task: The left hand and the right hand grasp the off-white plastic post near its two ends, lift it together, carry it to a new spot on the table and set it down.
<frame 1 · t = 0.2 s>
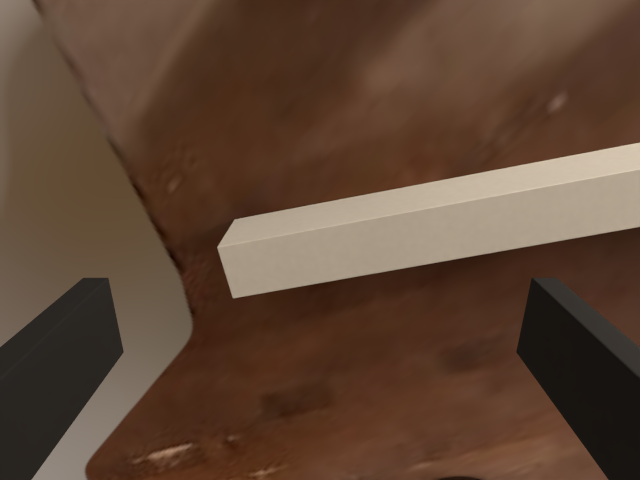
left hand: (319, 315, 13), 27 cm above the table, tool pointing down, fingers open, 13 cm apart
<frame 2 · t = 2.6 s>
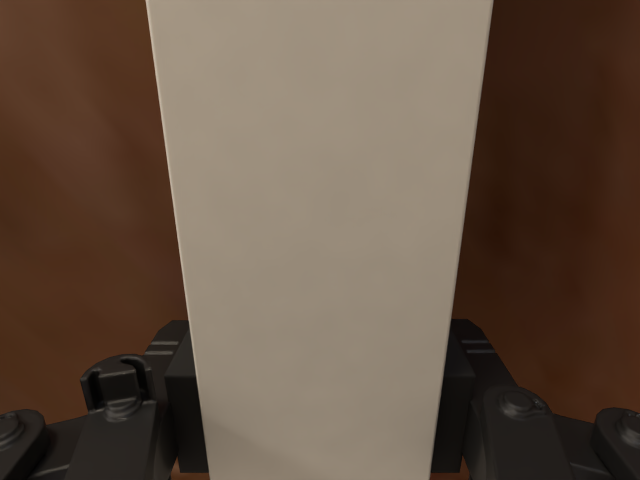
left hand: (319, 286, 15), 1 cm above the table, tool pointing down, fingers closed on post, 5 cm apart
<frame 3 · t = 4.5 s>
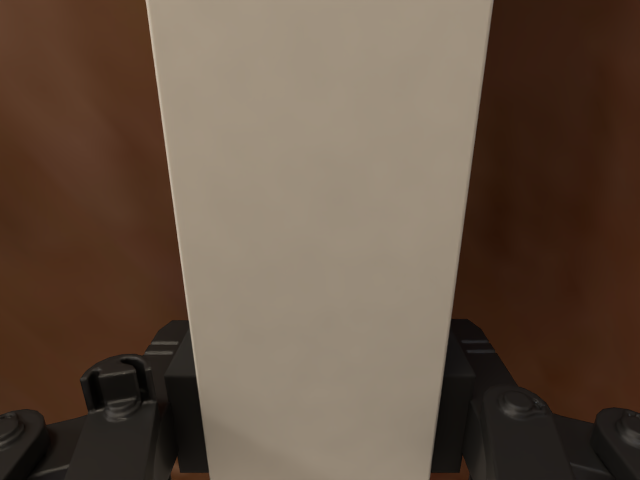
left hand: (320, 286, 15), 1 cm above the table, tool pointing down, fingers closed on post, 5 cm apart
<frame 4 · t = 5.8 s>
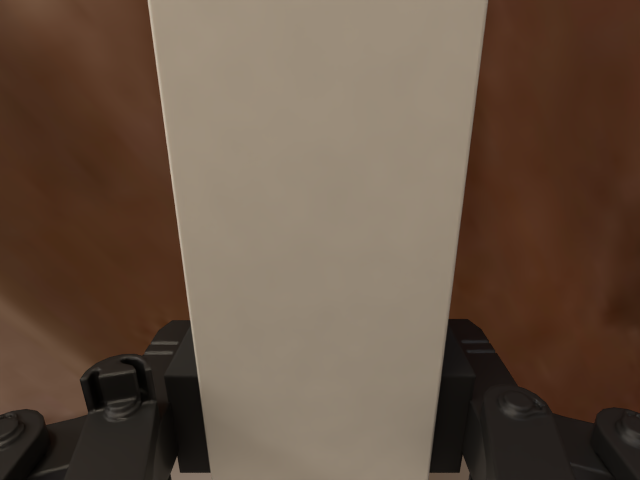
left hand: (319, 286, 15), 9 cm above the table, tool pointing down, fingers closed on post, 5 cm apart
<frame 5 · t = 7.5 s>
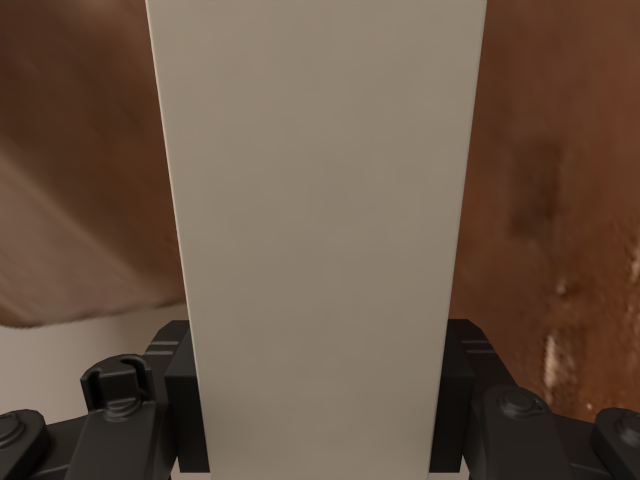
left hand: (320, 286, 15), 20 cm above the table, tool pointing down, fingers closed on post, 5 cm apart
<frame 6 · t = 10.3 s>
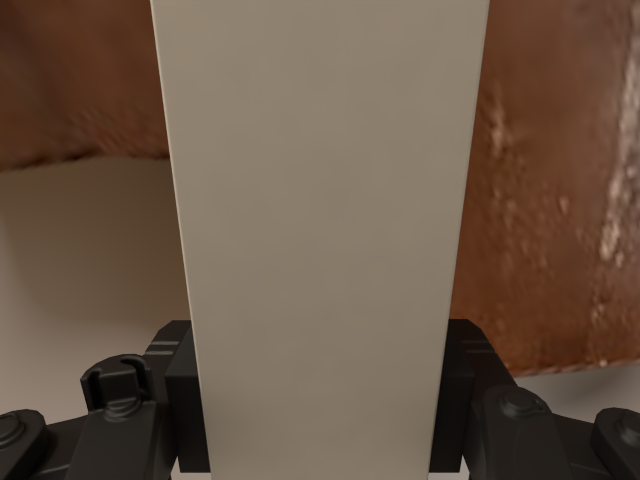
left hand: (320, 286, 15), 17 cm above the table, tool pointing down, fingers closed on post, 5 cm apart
when the left hand's fingers open (2 cm above the table, at t = 12.4 s): post stays where it is, on the table.
when the right hand's fingers open (4 cm above the table, at t = 12.6 s): post stays where it is, on the table.
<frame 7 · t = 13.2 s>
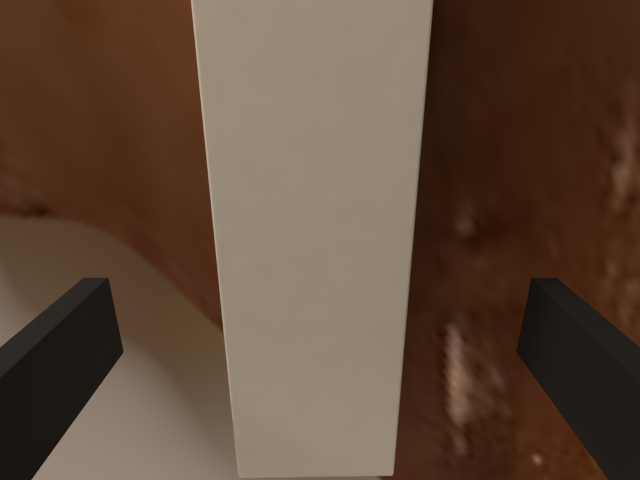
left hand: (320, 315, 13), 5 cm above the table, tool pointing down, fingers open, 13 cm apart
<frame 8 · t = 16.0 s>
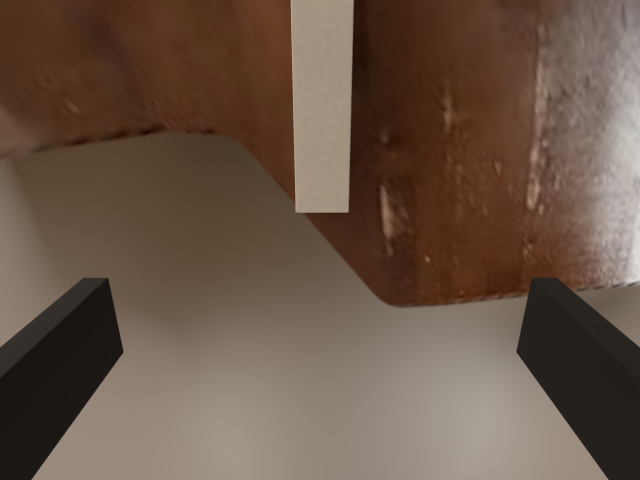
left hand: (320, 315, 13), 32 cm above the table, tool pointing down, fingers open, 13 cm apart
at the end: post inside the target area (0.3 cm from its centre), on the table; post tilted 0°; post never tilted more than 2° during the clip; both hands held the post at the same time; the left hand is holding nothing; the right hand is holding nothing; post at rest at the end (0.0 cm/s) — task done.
